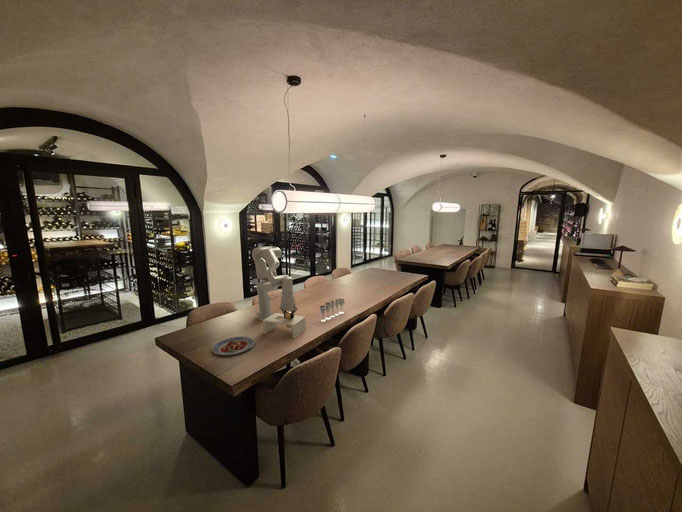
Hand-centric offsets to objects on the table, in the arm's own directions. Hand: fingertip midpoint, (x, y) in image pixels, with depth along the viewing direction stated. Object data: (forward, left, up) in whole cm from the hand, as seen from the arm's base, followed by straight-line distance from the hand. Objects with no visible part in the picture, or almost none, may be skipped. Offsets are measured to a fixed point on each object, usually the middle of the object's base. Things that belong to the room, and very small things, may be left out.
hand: (289, 318), depth 207 cm
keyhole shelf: (-4, 0, -11) cm, 12 cm away
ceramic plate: (-22, -33, -11) cm, 41 cm away
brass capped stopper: (0, 0, -6) cm, 6 cm away
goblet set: (+18, +40, -11) cm, 45 cm away
